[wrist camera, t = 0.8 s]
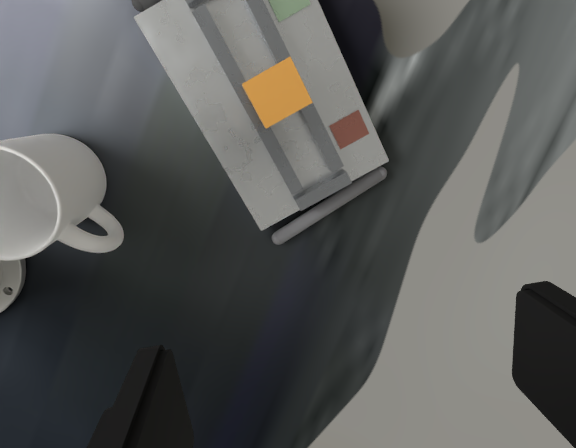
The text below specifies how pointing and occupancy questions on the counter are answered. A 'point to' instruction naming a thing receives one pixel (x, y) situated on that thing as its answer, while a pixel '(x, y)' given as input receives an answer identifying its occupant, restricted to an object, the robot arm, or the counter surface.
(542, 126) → the counter surface
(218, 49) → the slider switch board
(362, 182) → the grey rounded rod
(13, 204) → the mug
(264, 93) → the orange block
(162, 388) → the robot arm
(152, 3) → the grey bar
